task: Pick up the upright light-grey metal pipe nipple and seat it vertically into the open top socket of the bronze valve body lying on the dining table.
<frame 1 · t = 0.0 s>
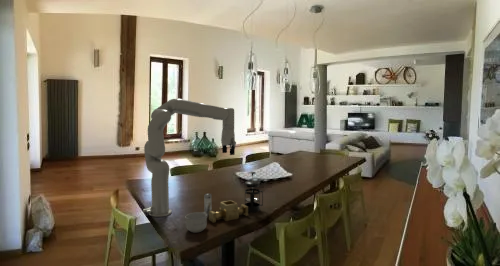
hand: (228, 153, 214), 31 cm above the table, fingers open, 9 cm apart
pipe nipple: (207, 215, 191), on the table
teacup: (198, 229, 169), on the table
valve body: (228, 217, 187), on the table
french press: (253, 210, 200), on the table
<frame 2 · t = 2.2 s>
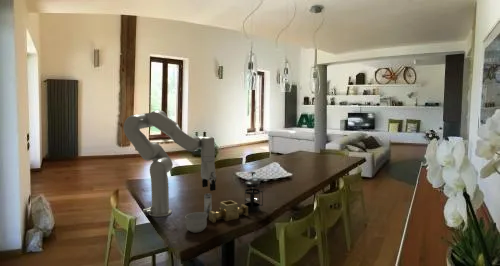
hand: (208, 188, 189), 15 cm above the table, fingers open, 9 cm apart
nothing on the table moved.
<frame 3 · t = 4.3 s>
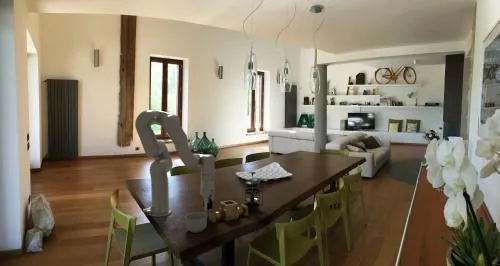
hand: (207, 207, 190), 4 cm above the table, fingers closed on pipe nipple, 4 cm apart
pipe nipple: (208, 215, 191), on the table, touching gripper
everything else where it was.
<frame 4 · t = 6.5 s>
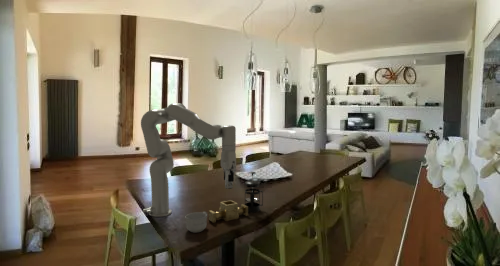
hand: (228, 180, 185), 21 cm above the table, fingers closed on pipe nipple, 4 cm apart
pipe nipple: (228, 188, 185), point 17 cm above the table, touching gripper
everything else where it was.
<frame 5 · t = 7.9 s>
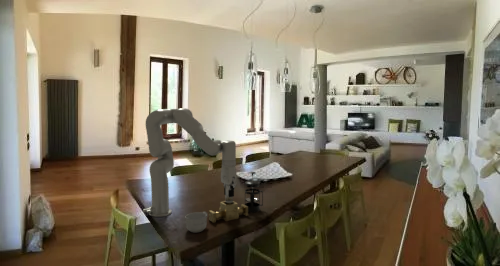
hand: (229, 195, 185), 13 cm above the table, fingers closed on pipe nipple, 4 cm apart
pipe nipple: (229, 202, 186), point 9 cm above the table, touching gripper
everything else where it was.
when the fingers open (11 cm above the table, at t = 9.1 s): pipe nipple drops 1 cm, resting on valve body.
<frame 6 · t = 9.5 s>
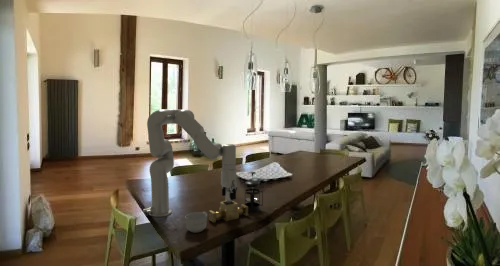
hand: (228, 197, 186), 12 cm above the table, fingers open, 8 cm apart
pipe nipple: (228, 208, 186), point 5 cm above the table, touching valve body
everything else where it was.
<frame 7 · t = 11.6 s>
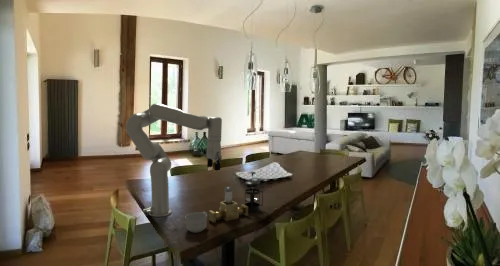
hand: (213, 168, 191), 27 cm above the table, fingers open, 9 cm apart
nothing on the table moved.
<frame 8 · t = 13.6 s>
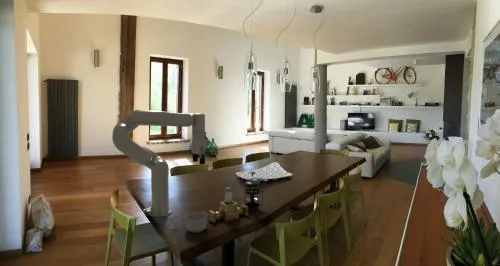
hand: (198, 162, 198), 28 cm above the table, fingers open, 9 cm apart
nothing on the table moved.
at the end: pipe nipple 0.1 cm off-centre on the valve body, point 5.0 cm above the valve body's base; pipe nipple tilted 1°; the gripper is holding nothing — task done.
